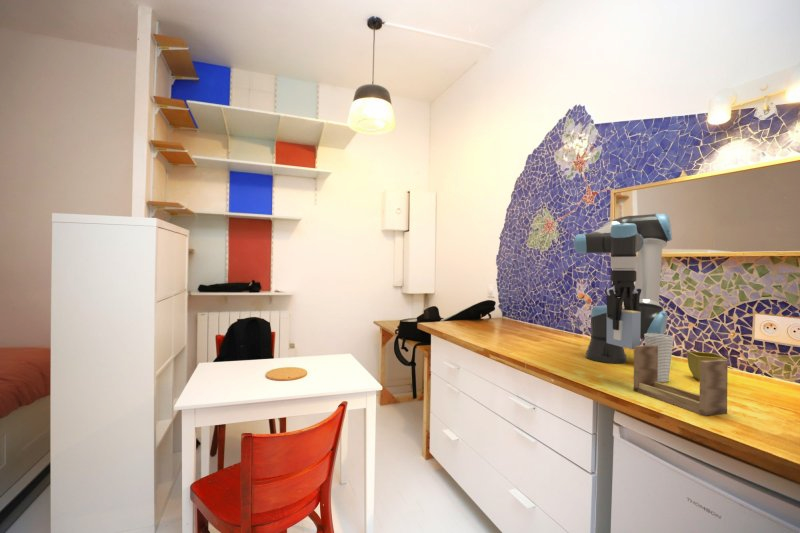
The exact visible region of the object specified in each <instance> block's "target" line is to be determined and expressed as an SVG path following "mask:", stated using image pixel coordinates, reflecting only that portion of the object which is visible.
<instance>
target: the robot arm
mask: <svg viewBox="0 0 800 533" xmlns="http://www.w3.org/2000/svg"><path fill="white" fill-rule="evenodd" d="M671 226H672V224H671V220H670V216H669V215H668V214H667V213H653V214H652V213H651V214H640V215H638V214H637V215H627V216H622V217H618V218H615V219H612V220H610V221H608V222H606V223H604V224H602V227H600V228H599V229H598V228H597V229H596V230H594V231H592V232H590V233H579V234H576V235H575V236H574V239H573V249H574V251H575V253H577V254H584V255H586V254H610V269H612V270H610V281H611V282H612V283H611V285H610V286H611V287H610V288H605V289H604V293H605V297H606V304H605V305H595V306H593V307H592V308H591V312H590V341H589V344H588V348H587V349H586V353H585V357H586V358H587V359H588V360H591V361H595V362H599V363H608V364H624V363H627V361H628V360H627V354H626V353H625V347H621V346H617V345H613V344H609V343H607V317H608V318H610V319H612V320H613V330H614V339H616V340H620V341H621V340H622V321H620V318H621V311H622V309H624V310H631V311H638V312H641V328H640V340H645V338H644V334H646V333H654V334H664V335H665V333H666V329H667V325H668V313H667V311H665V310H664V307H663V306H662V305H661V304H660V302H659V301H660V286H661V273H662V272H661V271H662V259H663V258H662V255H663V249H664V248H665V247H667V246H668V242H670V241H672V240H673V235H672V234H673V233H672V227H671Z"/></svg>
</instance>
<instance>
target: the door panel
mask: <svg viewBox="0 0 800 533" xmlns="http://www.w3.org/2000/svg"><path fill="white" fill-rule="evenodd" d="M620 321H622V340H621V341H620V340H616V339H614V330H613V320H612V319H610V318H608V317H607V343H609V344H613V345H617V346H621V347H623V348H624V349H625V348H626V349H629V350H634V346H641V339H640V328H641V312H638V311H631V310H624V308H623V309H622V311H621V318H620Z"/></svg>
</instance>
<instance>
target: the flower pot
mask: <svg viewBox="0 0 800 533" xmlns="http://www.w3.org/2000/svg"><path fill="white" fill-rule="evenodd" d="M686 357H687V358H686V359H687V365H688V369H689V372H690V373H691V374H692V376H693V378H695V379H697V380H698V381H700V361H705V360H719V359H722V360H727V361H728V357H725V356H722V355H720V354H717V353H715V352H703V351H691V350H690V351H689V350H686Z"/></svg>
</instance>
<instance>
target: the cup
mask: <svg viewBox="0 0 800 533" xmlns="http://www.w3.org/2000/svg"><path fill="white" fill-rule="evenodd" d="M644 338H645V339H644V345H656V346H658V382H659V383H668V382H669V380H670V372H671V363H672V354H673V348H674V347H673V345H674V338H675V337H674V336H673V335H669V334H665V333H664V334H654V333H646V334H644Z"/></svg>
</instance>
